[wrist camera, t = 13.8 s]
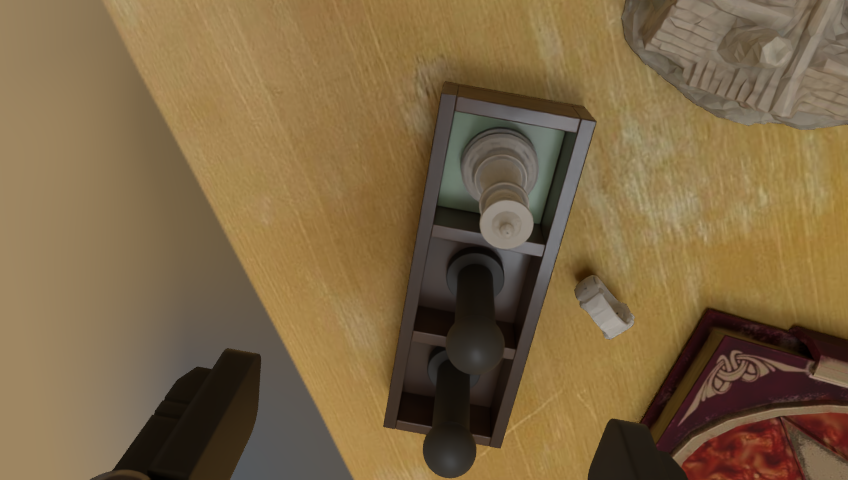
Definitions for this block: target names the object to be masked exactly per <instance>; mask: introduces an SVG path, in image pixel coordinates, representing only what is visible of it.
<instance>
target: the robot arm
mask: <svg viewBox="0 0 848 480" xmlns="http://www.w3.org/2000/svg"><path fill="white" fill-rule="evenodd" d="M260 368H261V356H260V354H257V353H251V352H246V351H240V350H235V349H229V348H227V349H225V350H224V352H223V353H222V354H221V356H220V358H219V359H218V361H217V362H216V364H215V365H214V367H213V369H208V368H202V367H196V368H194V369H193V370H191V371H190V372H188V373H187V374H185V375H184V376H182V377H181V378H179V379H178V380H177V381H176V383H175V384H174V385H173V387H172V388H171V389H170V391H169V392H168V394H167V395H166V396H165V400H164V401H162V402H161V403H160V405H159V406H158V408H157V409H156V410H155V413H154V415H152V416H151V417H150V419H149V420H148V422H147V423H146V425H145V426H144V427H143V429H142V430H141V432H140V433H139V434H138V436H137V437H136V438H135V440H134V441H133V443H132V444H131V445H130V447H129V448H128V450H127V451H126V453H125V454H124V455H123V457H122V458H121V459H120V461H119V462H118V464H117V465H116V466H115V468H114V469H113V470H112V471H110V472H106V473H104V474H101V475H98V476H96V477H94V478H92V479H90V480H230V478H231V476H232V474H233V472H234V470H235V468H236V465H237V463H238V461H239V459H240V457H241V455H242V453H243V450H244V448H245V446H246V444H247V442H248V440H249V438H250V435H251V433H252V430H253V427H254V424H255V421H256V416H257V410H258V400H259V385H260ZM588 480H688V478H687V475H686V473H685V471H684V470H683V469H682V468H681V467H680V466H679V464H678V463H677V462H676V461H675V460H674V459H673V458H672V456H671V455H670V454H669V453H668V452H664V451H659V450H657V447H656V445H655V442H654V440H653V437H652V435H651V432H650V430H649V428H648V427H647V426H646V425H645V424H640V423H635V422H629V421H624V420H618V419H611V420H609V422H608V423H607V425H606V428H605V430H604V433H603V435H602V438H601V440H600V443H599V446H598V448H597V451H596V453H595V456H594V458H593V461H592V463H591V466H590V469H589V474H588Z"/></svg>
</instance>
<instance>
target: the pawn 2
mask: <svg viewBox="0 0 848 480" xmlns="http://www.w3.org/2000/svg"><path fill="white" fill-rule="evenodd" d="M427 373H428V376H429V379H430V380H431V382H432V383H433V384H434V385H435V386H436V391H435V402H434V412H433V422H432V429H431V430H430V431H429V432H428V434H427V435H426V437H425V440H424V443H423V455H424V459H425V462H426V463H427V465H428V467H429V468H430V469H431V470H432V471H433V472H434V473H435V474H437V475H439V476H441V477H444V478H456V477H459V476H461V475H463V474H465V473H466V472H467V471H468V470H469V469H470V468H471V466H472V465H473V463H474V460H475V457H476V443H475V440H474V437H473V436H472V434H471V432H470V431H469V427H470V389H471V388H472V387H473V386H474V385H475V384H476V383H477V382H478V380H479V378H480V375H471V374H467V373H464V372H462V371H460V370H459V369H457V368H456V367H455V366H454V365H453V364H452V363H451V361H450V359H449V357H448V355H447V352H446V347H441V346H437V347H436V348H435V349H434V350H433V351H432V352H431V354H430V356H429V359H428V367H427Z"/></svg>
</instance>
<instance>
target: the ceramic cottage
mask: <svg viewBox="0 0 848 480" xmlns="http://www.w3.org/2000/svg"><path fill="white" fill-rule="evenodd" d="M621 19H622V20H623V27H624V34H625V36H626V38H625V39H626V41H627V42H628V44H629V45H630V47H631V48H632V50H633V51H634V52H635V53H636V54H638V55H639V56H640V58H641V60H642V61H643V62H644V63H645V65H646V64H648V65H649V66H650V67H651V68H653V69H654V70H655V71H656V72H657V73H658V74H659V75H661V76H662V77H663V78H664V79H665V80H667V81H668V82H670V83H671V84H672V85H674V86H675V87H677V89H678V90H679V91H681V92H682V93H683V94H684V96H685V97H686V98H688V99H690V101H692V102H693V103H696V105H698V106H701V107H703V108H704V109H705V110H707V111H709V112H711V113H712V114H714V115H716V116H717V117H721V118H726V119H729V120H731V121H734V122H738V123H741V124H744V125H748V126H749V125H752V124H754V123H760V124H766V123H768V122H771V123H783V124H785V125H787V126H790V127H793V128H797V129H800V130H814V129H816V128H825V127H831V126H837V125H846V124H848V0H626V3H625V9H624V13H623V15H622V17H621Z"/></svg>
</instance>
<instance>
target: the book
mask: <svg viewBox="0 0 848 480" xmlns="http://www.w3.org/2000/svg"><path fill="white" fill-rule="evenodd" d="M640 424H645V425H646V426H647V427H648V428H649V430H650V432H651V435H652V437H653V440H654V442H655V445H656V447H657V450H659V451H664V452H668V453H669V454H670V455H671V456H672V458H673V459H674V460H675V461H676V462H677V463H678V464H679V466H680V467H681V468H682V469H683V470H684V471H685V473H686V475H687V478H688V480H848V341H846V340H843V339H839V338H836V337H832V336H829V335H825V334H822V333H818V332H815V331H811V330H808V329H804V328H801V327H797V326H796V327H794V328H791V329H789V332H787V331H783V330H780V329H776V328H773V327H769V326H766V325H762V324H759V323H755V322H752V321H748V320H745V319H742V318H738V317H735V316H731V315H728V314H724V313H721V312H717V311H714V310H710V309H708V311H707V312H706V314H705V316H704V317H703V319H702V321H701V322H700V324H699V326H698V328H697V329H696V331H695V333H694V334H693V336H692V338H691V339H690V341H689V343H688V344H687V346H686V348H685V349H684V351H683V353H682V354H681V356H680V358H679V359H678V361H677V363H676V364H675V366H674V368H673V370H672V371H671V373H670V375H669V376H668V378H667V380H666V381H665V383H664V385H663V386H662V388H661V390H660V391H659V393H658V395H657V396H656V398H655V400H654V401H653V403H652V405H651V407H650V408H649V410H648V412H647V413H646V415H645V417H644V418H643V420H642V422H641V423H640Z"/></svg>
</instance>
